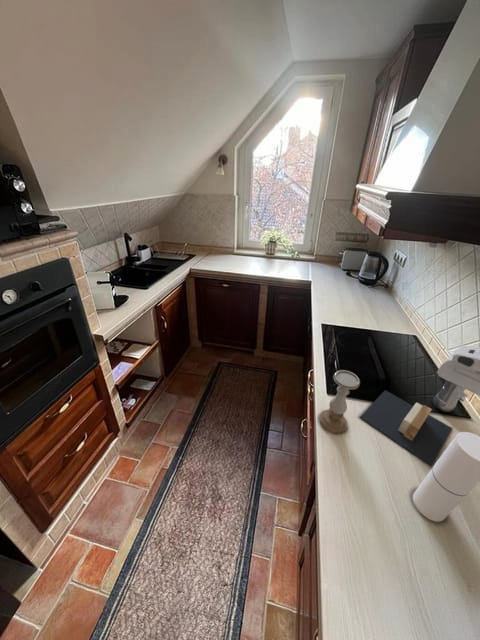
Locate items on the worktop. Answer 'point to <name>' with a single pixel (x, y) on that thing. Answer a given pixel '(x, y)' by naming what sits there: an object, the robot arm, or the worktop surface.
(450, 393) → the plastic bottle
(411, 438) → the wooden block
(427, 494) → the cylindrical container
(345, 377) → the candle holder
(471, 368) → the robot arm
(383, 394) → the mat
